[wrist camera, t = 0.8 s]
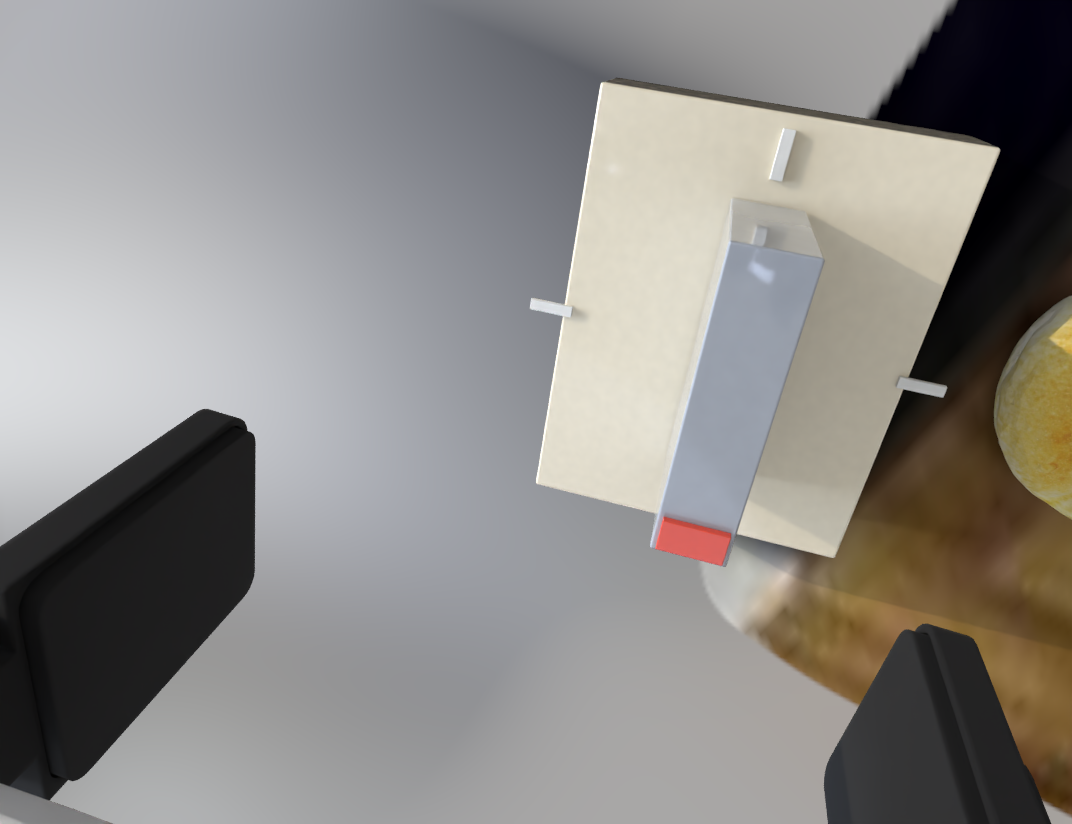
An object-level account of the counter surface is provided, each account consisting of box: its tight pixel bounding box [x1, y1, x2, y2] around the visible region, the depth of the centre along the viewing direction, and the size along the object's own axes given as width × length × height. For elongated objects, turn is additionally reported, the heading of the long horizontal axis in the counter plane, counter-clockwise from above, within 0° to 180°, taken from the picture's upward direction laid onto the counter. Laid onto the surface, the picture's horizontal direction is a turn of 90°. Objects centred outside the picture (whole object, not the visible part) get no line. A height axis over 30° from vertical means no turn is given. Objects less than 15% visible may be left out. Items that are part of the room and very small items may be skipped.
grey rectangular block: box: [650, 198, 825, 567], centre depth 22 cm, size 9×2×6 cm, turn 172°
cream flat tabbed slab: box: [530, 78, 1000, 558], centre depth 25 cm, size 14×13×3 cm
